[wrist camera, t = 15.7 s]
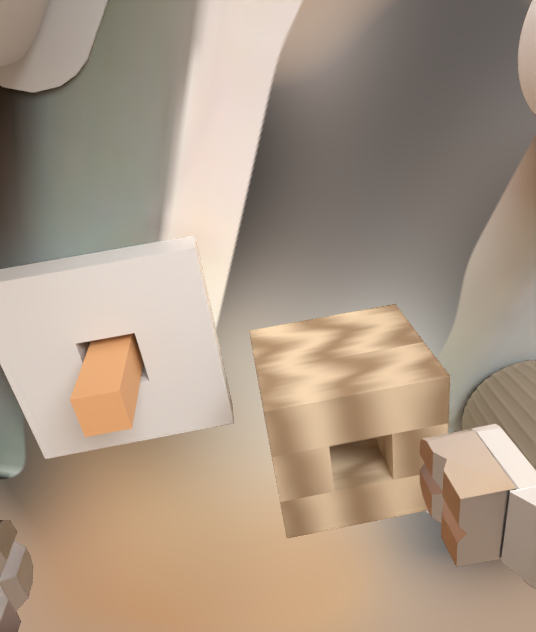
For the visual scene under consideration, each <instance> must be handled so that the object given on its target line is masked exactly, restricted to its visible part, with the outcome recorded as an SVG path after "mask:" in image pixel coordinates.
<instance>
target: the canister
mask: <svg viewBox="0 0 536 632" xmlns="http://www.w3.org/2000/svg"><path fill="white" fill-rule="evenodd" d="M491 424H497V425H498V426H500V427H501V428H502V429H503V431H504V432H505V433H506V434H507V436H508V437H509V438H510V439H511V440H512V442H513V443H514V444H515V445H516V447H517V448H518V449H519V450H520V452H521V453H522V454H523V455H524V457H525V458H526V459H527V460H528V462H529V463H530V464H531V465H532V467H533V468H534V469H535V470H536V360H534V361H532V360H526V361H524V362H517V363H516V364H513V365H508V366H507V367H505V368H503V369H500V370H499V371H497V372H496V373H494V374H491V376H490V377H489V378H487V379H485V380H484V381H483V382H482V383H481V384H480V385H479V386H478V387H477V389H476V390H475V391H474V392H473V393H472V395H471V397H470V398H469V399H468V401H467V405H466V406H465V408H464V414H463V416H462V430H467V429H469V430H470V429H472V428H477V427H481V426H486V425H491ZM522 579H523V578H522ZM523 580H524V579H523ZM524 581H525V580H524ZM525 582H526V583H527V584H528V585H530V584H529V583H528V582H527V581H525ZM530 586H531V587H533V586H532V585H530ZM533 588H534V587H533ZM534 589H536V588H534Z"/></svg>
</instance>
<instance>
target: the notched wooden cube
mask: <svg viewBox="0 0 536 632" xmlns="http://www.w3.org/2000/svg"><path fill="white" fill-rule="evenodd" d="M249 332H250V338H251V344H252V349H253V355H254V360H255V366H256V372H257V377H258V383H259V389H260V394H261V400H262V405H263V411H264V416H265V422H266V427H267V432H268V438H269V444H270V449H271V454H272V460H273V466H274V471H275V477H276V482H277V487H278V493H279V498H280V503H281V509H282V515H283V520H284V525H285V531H286V537H287V538H291V537H297V536H301V535H307V534H312V533H316V532H322V531H327V530H332V529H337V528H342V527H346V526H352V525H357V524H362V523H366V522H371V521H377V520H382V519H387V518H392V517H396V516H402V515H407V514H412V513H417V512H422V511H427V510H428V509H427V507H426V504H425V501H424V498H423V495H422V491H421V486H420V473H419V470H420V469H421V467H422V466H423V465H424V461H423V459H422V457H421V455H420V454H419V453H420V442H421V439H423V438H428V437H432V436H437V435H442V434H447V433H448V418H449V393H450V376H449V374H448V373H447V372H446V370H445V369H444V368H443V366H442V365H441V364H440V362H439V361H438V360H437V358H436V357H435V356H434V355H433V353H432V352H431V351H430V349H429V348H428V347H427V345H426V344H425V343H424V341H423V340H422V339H421V337H420V336H419V335H418V333H417V332H416V331H415V329H414V328H413V327H412V325H411V324H410V323H409V321H408V320H407V319H406V318H405V316H404V315H403V314H402V312H401V311H400V310H399V308H398V307H397V306H396V304H393V305H387V306H382V307H376V308H371V309H365V310H361V311H355V312H349V313H344V314H338V315H332V316H327V317H322V318H316V319H311V320H305V321H300V322H294V323H289V324H283V325H278V326H272V327H267V328H261V329H256V330H251V331H249Z"/></svg>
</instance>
